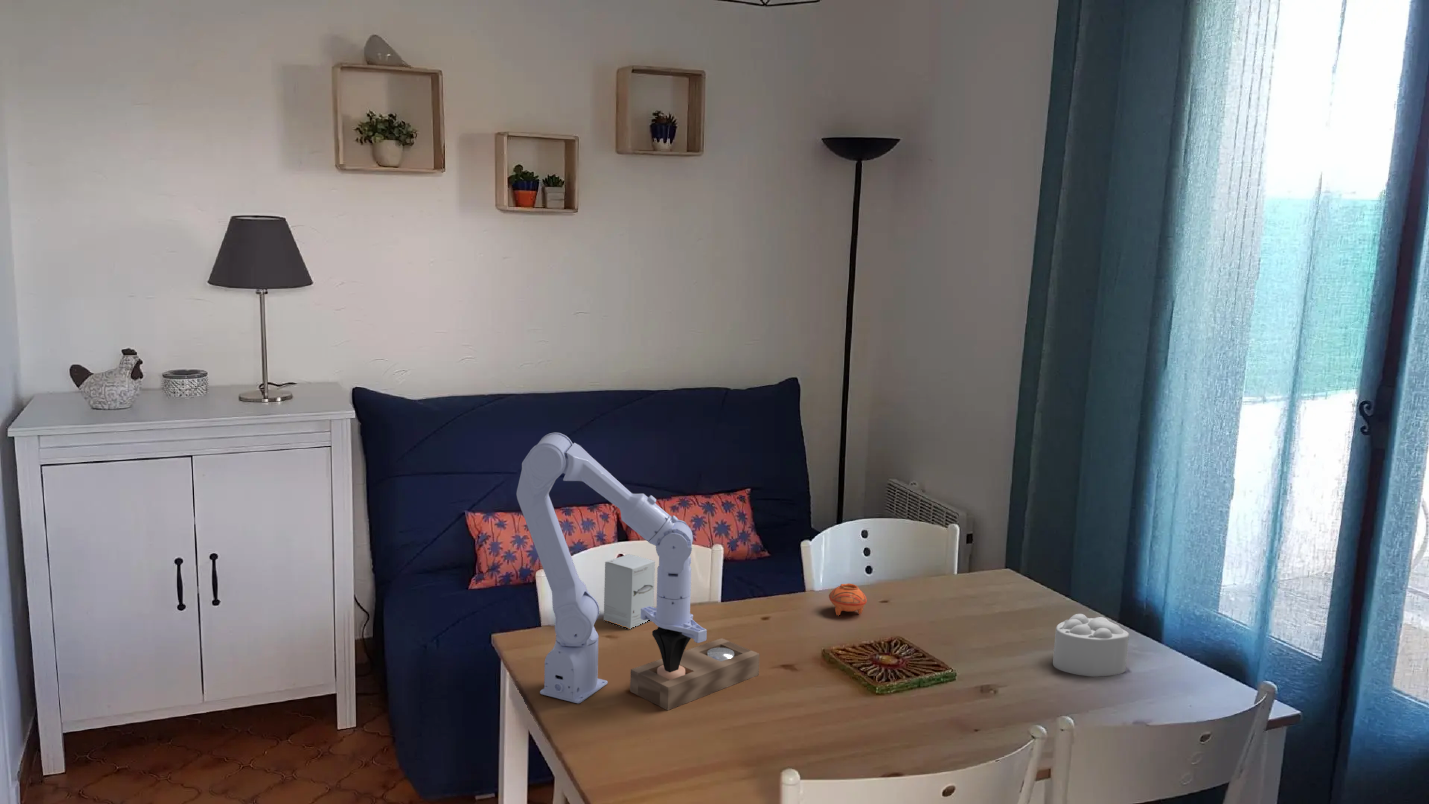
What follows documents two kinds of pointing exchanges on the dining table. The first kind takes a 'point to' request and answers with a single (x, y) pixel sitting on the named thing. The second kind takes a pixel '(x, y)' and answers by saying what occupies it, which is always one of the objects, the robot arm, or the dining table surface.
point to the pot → (847, 598)
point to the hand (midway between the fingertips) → (671, 669)
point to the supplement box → (628, 589)
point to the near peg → (670, 675)
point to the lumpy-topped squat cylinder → (1090, 646)
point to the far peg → (720, 653)
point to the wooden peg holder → (695, 675)
